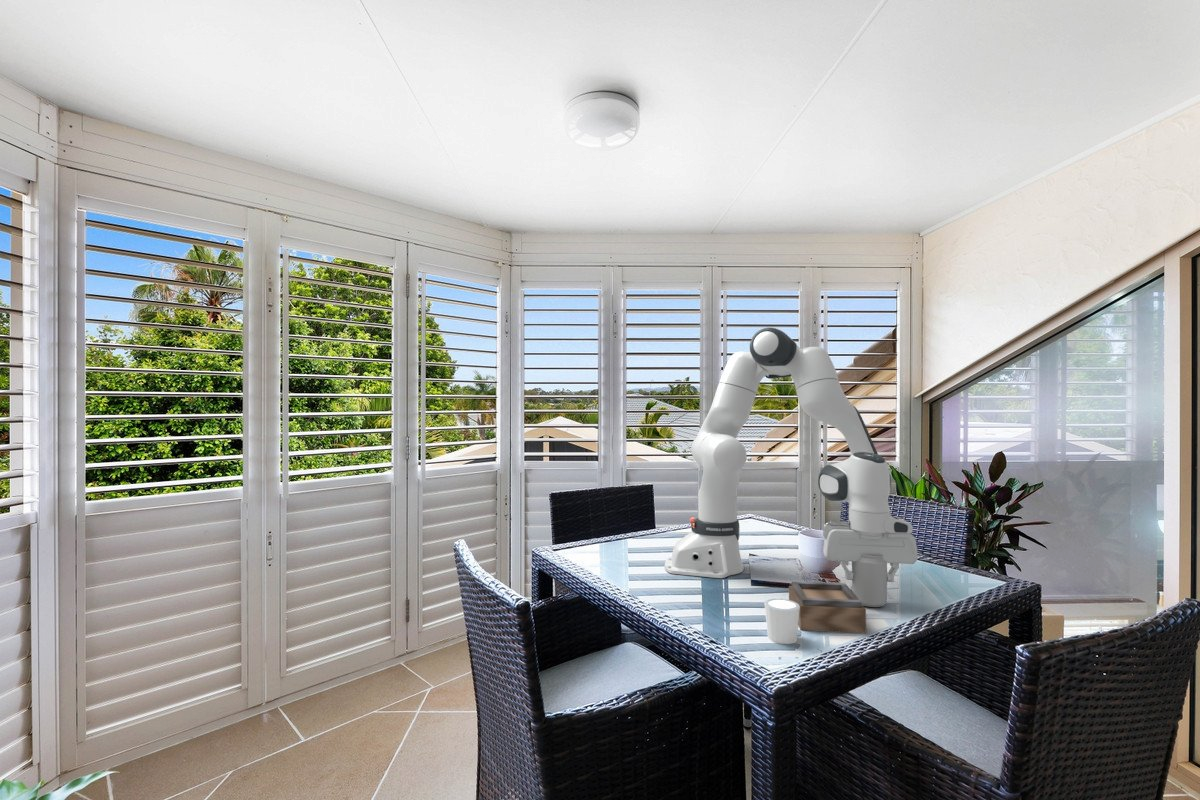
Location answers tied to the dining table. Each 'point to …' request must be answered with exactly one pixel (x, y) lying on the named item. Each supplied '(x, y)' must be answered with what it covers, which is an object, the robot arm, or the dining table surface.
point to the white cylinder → (782, 620)
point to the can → (870, 580)
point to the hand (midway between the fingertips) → (869, 580)
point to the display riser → (828, 607)
